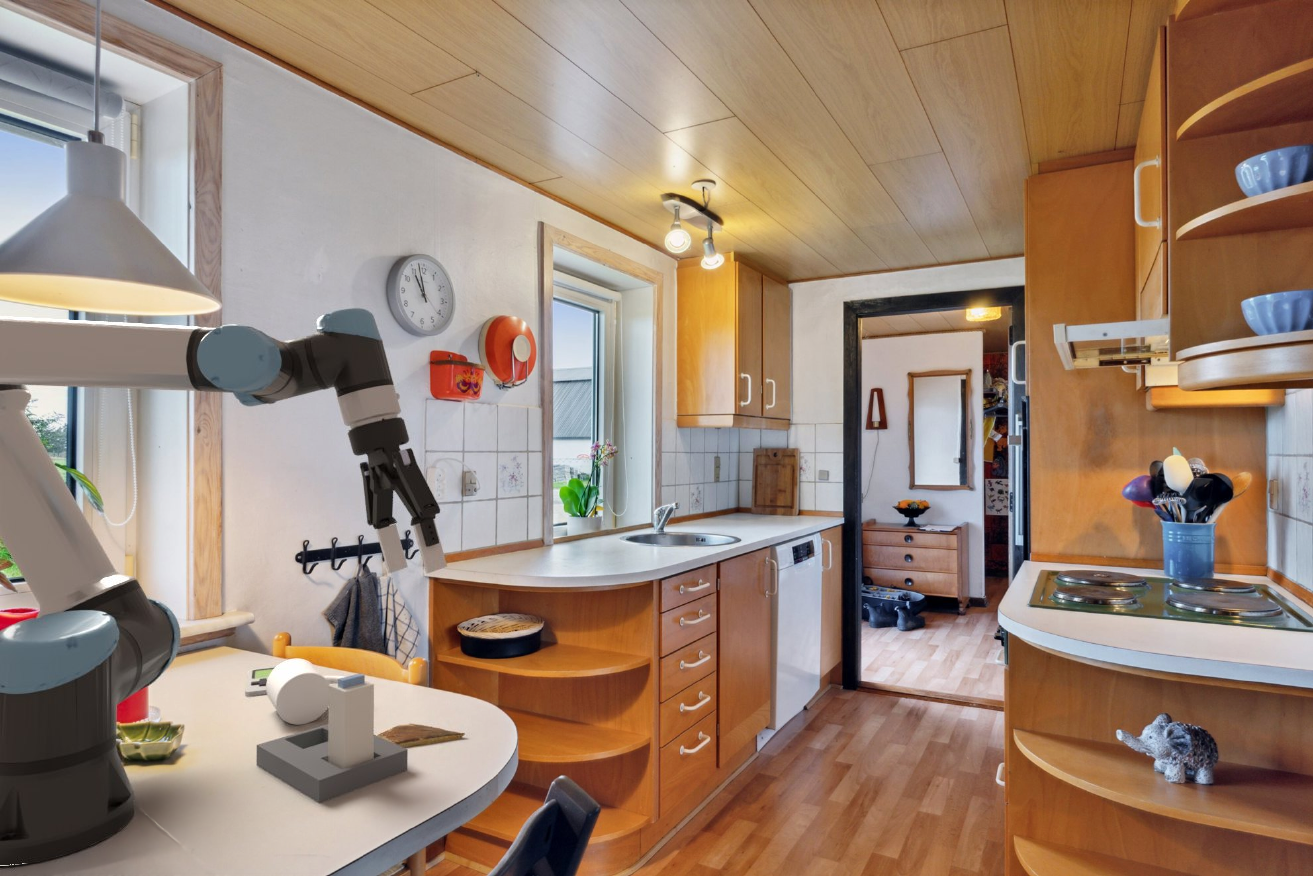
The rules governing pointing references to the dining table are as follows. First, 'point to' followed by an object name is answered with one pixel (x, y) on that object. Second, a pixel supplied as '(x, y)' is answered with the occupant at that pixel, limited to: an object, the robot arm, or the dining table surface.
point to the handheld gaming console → (257, 681)
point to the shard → (418, 735)
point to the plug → (351, 721)
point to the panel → (326, 764)
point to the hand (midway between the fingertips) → (416, 570)
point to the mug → (299, 691)
